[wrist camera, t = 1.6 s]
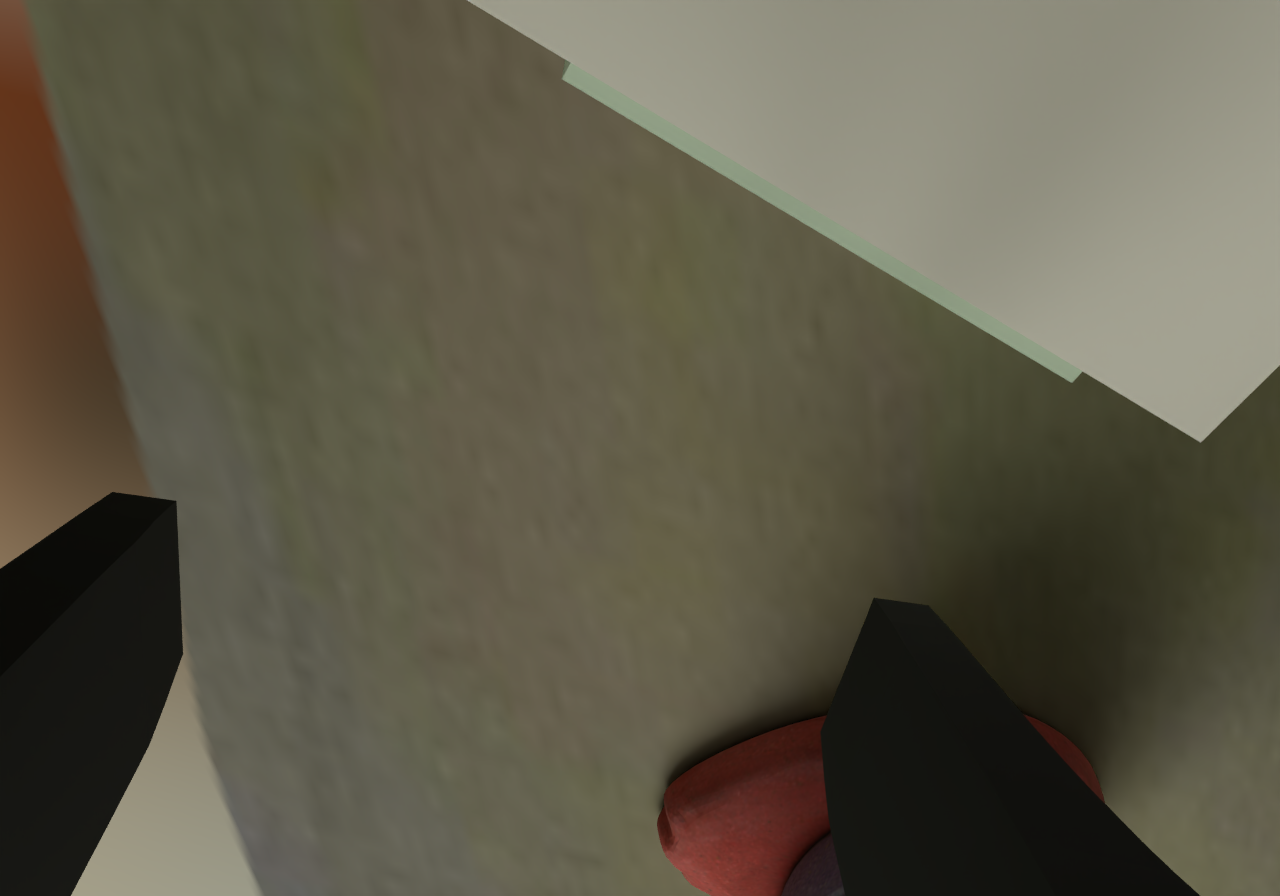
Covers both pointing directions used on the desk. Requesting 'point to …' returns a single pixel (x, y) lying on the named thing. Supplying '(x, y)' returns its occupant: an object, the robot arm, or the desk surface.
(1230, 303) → the mounted unit
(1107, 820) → the robot arm
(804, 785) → the stacking bear
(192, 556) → the desk surface
